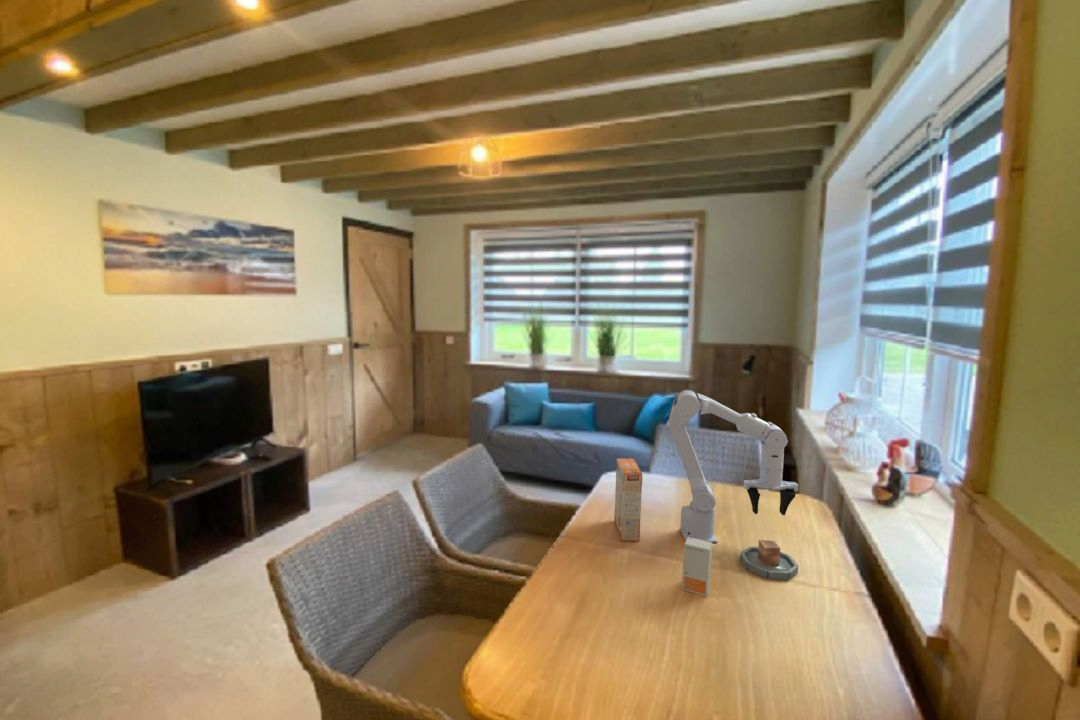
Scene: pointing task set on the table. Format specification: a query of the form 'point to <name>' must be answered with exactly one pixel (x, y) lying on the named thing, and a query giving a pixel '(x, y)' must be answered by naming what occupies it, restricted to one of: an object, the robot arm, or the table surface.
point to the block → (769, 553)
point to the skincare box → (697, 566)
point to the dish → (782, 571)
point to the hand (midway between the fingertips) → (768, 513)
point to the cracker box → (628, 499)
